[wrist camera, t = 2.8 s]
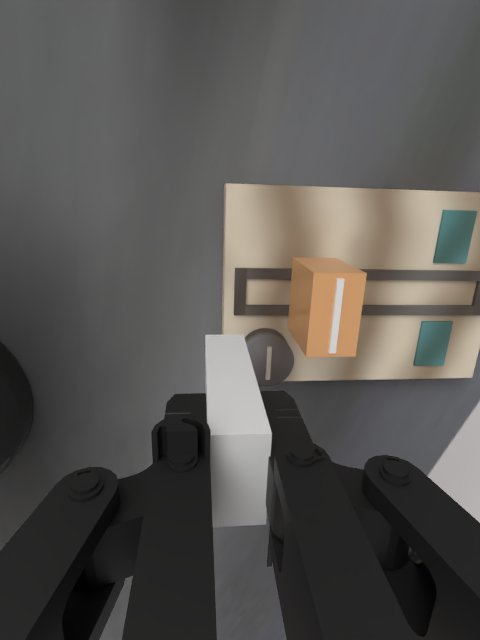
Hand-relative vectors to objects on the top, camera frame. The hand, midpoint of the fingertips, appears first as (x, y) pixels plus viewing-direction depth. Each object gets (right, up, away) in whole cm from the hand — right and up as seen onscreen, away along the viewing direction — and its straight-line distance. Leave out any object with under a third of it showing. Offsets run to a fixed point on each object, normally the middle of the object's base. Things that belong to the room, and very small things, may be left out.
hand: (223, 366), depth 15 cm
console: (+9, +5, +14) cm, 17 cm away
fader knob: (+6, +4, +11) cm, 13 cm away
